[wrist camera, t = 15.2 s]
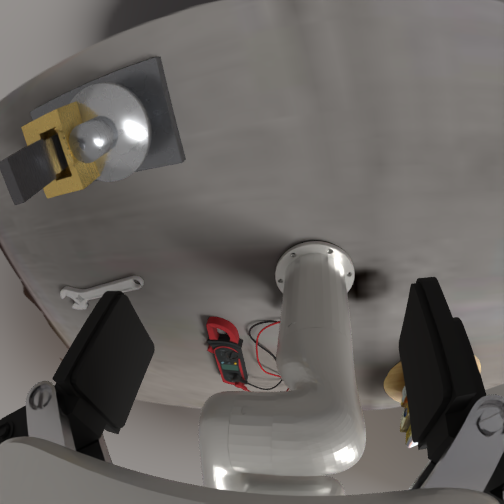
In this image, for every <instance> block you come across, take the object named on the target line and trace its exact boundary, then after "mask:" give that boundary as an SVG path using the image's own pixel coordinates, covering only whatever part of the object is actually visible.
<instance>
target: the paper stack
mask: <svg viewBox="0 0 504 504" xmlns="http://www.w3.org/2000/svg"><path fill="white" fill-rule="evenodd" d="M474 356H475V355H474ZM475 359H476V362H477V366H478V369H479V372H481V364H480V361H479V360H478V358H477V357H476V356H475ZM384 389H385V391H386V393H387V394H388V395H389V396H390V397H391V398H392V399H394V400H396V401H398V402H401V406H402V407H405V408H404V411H403V414H402V416H401V424H400V432H406V445H407V447H408V448H411V447H413V446H415V445H418V442H416V443H414V442H413V440H412V433H411V425H410V416H409V409H408V401H407V394H406V388H405V381H404V375H403V370H402V364H401V362H400V363H398V364H397V365H395V366H394V367H393V368H392V369H391V370H390V372H389V373H388V375H387V377H386V379H385V380H384Z"/></svg>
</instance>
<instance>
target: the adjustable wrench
mask: <svg viewBox="0 0 504 504" xmlns="http://www.w3.org/2000/svg"><path fill="white" fill-rule="evenodd" d="M133 279H134V280H137V281H139V282H140V284H136V283H135V282H134V281H133ZM143 284H144V281H143V279H142V278H141V277H140V276H137V275H134V276H130V277H127V278H123V279H120V280H116V281H113V282H109V283H106V284H102V285H99V286H95V287H92V288H88V289H77V288H73V287H70V286H65V287H64V288H63V289H62V290H61V292H60V295H61V298H62V299H64V297H65V296H68V297H71V298H72V299H73V300H74V301H75V303H74V304H73V306H72V308H74V309H78V310H81V309H85V310H86V308H87V307H88V304H87V301H88V300H91V299H95V298H100V297H102V296H103V294H104V293H105V292H106V291H122V292H123V293H124V292H128V291H133V290H138V289H141V287H142V286H143Z"/></svg>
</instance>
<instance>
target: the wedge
mask: <svg viewBox="0 0 504 504" xmlns="http://www.w3.org/2000/svg"><path fill="white" fill-rule="evenodd" d="M68 166H69V165H68V163H67V160H66V157H65V154H64V151H63V148H62V145H61V142H60V139H59V136H58V133H57V134H55V135H53V136H51V137H49V138H47V139H45V140H43V138H42V139H40V140H38V141H36V142H33V143H31V144H30V145H28V146H26V147H24V148H22V149H21V150H19V151H17V152H16V153H14V154H12V155H10V156H9V157H7V158H5V159H4V160H2V161H0V170H1V173H2V175H3V178H4V180H5V183H6V185H7V188H8V190H9V193H10V195H11V197H12V200H13V202H14V204H15V205H18V204H21V203H24V202H26V201H27V200H28V199H29V198H31V197H32V196H33V195H35V194H36V193H37V192H39V191H40V190H41V189H43V188H44V187H45V186H47V185H48V184H49V183H51V182H52V181H53V180H55V179H56V174H58V173H59V172H61V171H62V170H64V169H65V168H67V167H68Z"/></svg>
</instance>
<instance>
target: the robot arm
mask: <svg viewBox="0 0 504 504" xmlns="http://www.w3.org/2000/svg"><path fill="white" fill-rule="evenodd" d="M275 280H276V283H277V286H278V288H279V289H280V291H281V292H282V293H283V300H282V310H281V319H280V328H279V337H278V345H277V354H276V364H277V369H278V372H279V374H280V376H281V378H282V380H283V381H284V383H285V384H286V385H287V387H288V388H289V389H290V390H291V391H280V392H249V391H226V392H220V393H216V394H214V395H212V396H211V397H209V398H208V400H207V401H206V402H205V404H204V406H203V408H202V411H201V414H200V419H199V430H198V431H199V432H198V434H199V449H200V459H201V469H202V476H203V485H204V487H203V486H197V485H192V484H187V483H182V482H177V481H172V480H168V479H164V478H160V477H156V476H152V475H148V474H144V473H140V472H137V471H133V470H130V469H127V468H123V467H120V466H117V465H114V464H113V463H112V460H111V458H110V455H109V452H108V449H107V446H106V443H105V440H104V436H103V431H104V429H105V430H107V431H109V432H112V433H116V434H119V431H120V428H122V427H123V426H124V425H125V423H126V420H127V417H128V415H129V412H130V410H131V407H132V405H133V402H134V400H135V397H136V395H137V392H138V390H139V387H140V385H141V382H142V380H143V378H144V375H145V373H146V370H147V368H148V365H149V363H150V361H151V358H152V356H153V353H154V344H153V342H152V340H151V338H150V337H149V335H148V333H147V331H146V330H145V328H144V326H143V324H142V323H141V321H140V319H139V317H138V315H137V314H136V312H135V310H134V308H133V306H132V304H131V302H130V301H129V299H128V297H127V296H126V295H124V293H123V292H122V291H106V292H105V293H104V294H103V296H102V297H101V299H100V300H99V302H98V303H97V305H96V306H95V308H94V309H93V311H92V313H91V314H90V316H89V317H88V319H87V320H86V322H85V324H84V325H83V327H82V329H81V330H80V332H79V333H78V335H77V337H76V338H75V340H74V342H73V343H72V345H71V347H70V348H69V350H68V352H67V354H66V355H65V357H64V359H63V360H62V362H61V364H60V366H59V367H58V369H57V371H56V373H55V375H54V377H53V380H54V381H55V382H56V385H55V386H54V385H53V384H52V382H49V381H41V382H38V383H37V384H35V385H34V386H33V387H32V388H31V390H30V391H29V393H28V395H27V398H26V406H24V407H22V408H20V409H19V410H17V411H15V412H13V413H11V414H9V415H7V416H6V417H4V418H2V419H1V420H0V504H504V397H502V396H499V395H487V396H486V393H485V389H484V385H483V382H482V378H481V375H480V372H479V369H478V366H477V362H476V359H475V356H474V353H473V351H472V348H471V345H470V342H469V339H468V336H467V334H466V331H465V328H464V326H463V323H462V321H461V320H460V319H459V318H458V317H455V318H453V317H452V315H451V312H450V310H449V307H448V304H447V302H446V299H445V297H444V295H443V292H442V290H441V287H440V285H439V283H438V280H437V279H436V277H428V278H418V279H417V281H416V283H415V284H411V287H410V292H409V298H408V303H407V308H406V313H405V317H404V322H403V326H402V331H401V335H400V339H399V353H400V358H401V364H402V370H403V375H404V381H405V388H406V394H407V401H408V409H409V416H410V425H411V433H412V440H413V442H414V443H416V442H418V449H419V450H420V449H426V448H427V450H428V458H429V459H430V461H429V462H428V464H427V465H426V466H425V468H424V469H423V471H422V472H421V474H420V475H419V476H418V478H417V479H416V480H415V482H414V483H413V485H412V486H411V487H410V488H409V490H404V491H393V492H383V493H373V494H360V495H345V490H344V487H343V486H342V484H341V483H340V482H339V481H338V480H337V479H335V478H333V477H328V476H322V475H329V474H335V473H339V472H342V471H344V470H346V469H348V468H350V467H351V466H353V465H354V464H356V463H357V462H358V460H359V459H360V458H361V456H362V454H363V452H364V448H365V444H366V430H365V422H364V417H363V413H362V408H361V404H360V400H359V395H358V390H357V385H356V377H355V368H354V357H353V347H352V334H351V323H350V314H349V305H348V296H347V292H348V291H349V290H350V288H351V286H352V284H353V281H354V266H353V263H352V260H351V259H350V257H349V256H348V254H347V253H346V252H345V251H344V250H342V249H341V248H339V247H338V246H336V245H333V244H331V243H327V242H322V241H310V242H304V243H301V244H298V245H296V246H293V247H291V248H290V249H289V250H287V251H286V252H285V253H284V254H283V255H282V256H281V258H280V259H279V261H278V263H277V266H276V272H275Z"/></svg>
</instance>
